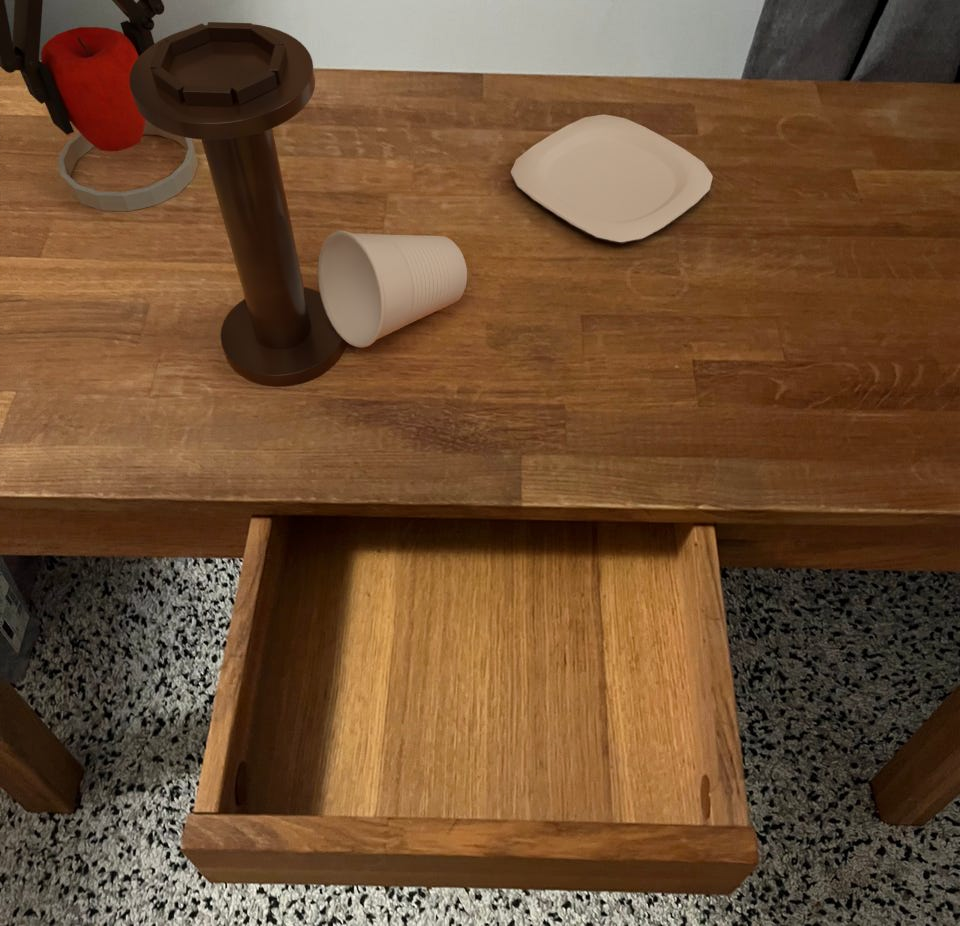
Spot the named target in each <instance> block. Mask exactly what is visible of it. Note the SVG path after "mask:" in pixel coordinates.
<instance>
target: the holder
mask: <svg viewBox="0 0 960 926" xmlns="http://www.w3.org/2000/svg"><path fill="white" fill-rule="evenodd" d="M154 43H155V44H153V45H152V46H151V47H149V48H148V49H147V50H145V51H144V52H143V53H142V54H141V55H140V56H139V58H138V59H137V60H136V61H135V63H134V65H133V67H132V69H131V72H130V76H129V85H130V90H131V93H132V96H133V99H134V102H135V104H136V107H137V109H138V111H139V112H140V114H141V115H142V116H143V117H144V118H145V119H146V120H147V121H148V122H149V123H151V124H152V125H154V126H155V127H157V128H159V129H161V130H163V131H165V132H168V133H171V134H174V135H177V136H181V137H186V138H191V140H192V139H193V140H201V144H202V147H203V151H204V154H205V159H206V161H207V166H208V169H209V173H210V176H211V180H212V183H213V187H214V191H215V194H216V198H217V202H218V205H219V209H220V213H221V216H222V219H223V223H224V227H225V230H226V231H225V232H226V234H227V238H228V241H229V245H230V249H231V253H232V256H233V260H234V263H235V267H236V270H237V274H238V278H239V282H240V286H241V289H242V292H243V295H244V299H242V300H240V301H239V302H238V303H237V304H235V306H233V308H231V310H230V311H229V312H228V313H227V315H226V316H225V318H224V320H223V323H222V325H221V330H220V343H221V346H222V350H223V353H224V356H225V358H226V362H227V363H228V365H229V366H230V367H231V368H232V370H234V372H235V373H236V374H238V375H239V376H241V377H242V378H244V379H245V380H248V381H250V382H252V383H255V384H258V385H260V386H261V385H262V386H266V387H267V386H268V387H289V386H290V387H291V386H296V385H301V384H303V383H307V382H310V381H312V380H314V379H316V378H319V377H320V376H322V375H324V374H325V373H326V372H327V371H329V370H330V369H332V367H333V366H334V365H335V364H336V363H337V362H338V361H339V360H340V358H341V356H342V355H343V353H344V351H345V349H346V344H347V342H346V341H345V340H344V339H343V338H342V337H341V336H340V335H339V334H338V333H337V332H336V330H335V329H334V327H333V326H332V324H331V322H330V320H329V318H328V316H327V314H326V311H325V309H324V306H323V303H322V299H321V296H320V291H319V290H315V289H312V288H309V287H305V285H304V282H303V276H302V272H301V266H300V261H299V257H298V251H297V246H296V242H295V237H294V236H295V235H294V231H293V226H292V220H291V216H290V209H289V207H288V201H287V196H286V190H285V185H284V180H283V175H282V170H281V166H280V161H279V160H280V159H279V155H278V150H277V145H276V140H275V135H274V128H277V127H279V126H281V125H283V124H284V123H287V122H288V121H290V120H292V118H294V117H295V116H297V115H298V114H299V113H300V112H301V111H302V110H303V109H304V108H305V107H306V106H307V105H308V104H309V102H310V100H311V98H312V97H313V95H314V91H315V88H316V76H315V68H314V62H313V58H312V55H311V53H310V51H309V50H308V49H307V47H305V45H304V44H303V43H302V42H301V41H299V40H298V39H297V38H296V37H294V36H292V35H291V34H289V33H287V32H284V31H282V30H279V29H277V28H273V27H270V26H266V25H262V24H257V23H255V24H254V23H251V22H228V21H227V22H224V21H222V22H220V21H208V22H207V24H204V23H199V24H197V25H194V26H192V27H190V28H187V29H183V30H181V31H178V32H175V33H173V34H170V35H168V36H166V37H164V38H162V39H160V40H158V41H157V42H154Z"/></svg>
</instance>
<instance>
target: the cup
mask: <svg viewBox="0 0 960 926" xmlns="http://www.w3.org/2000/svg"><path fill="white" fill-rule="evenodd" d="M318 255H319V256H318V260H317V282H318V285H317V286H318V289H319V290H318V291H319V292H320V296H321V299H322V303H323V306H324V309H325V311H326V314H327V316H328V318H329V320H330V322H331V324H332V326H333V327H334V329H335V330H336V332H337V333H338V334H339V335H340V336H341V337H342V338H343V339H344V340H345V341H346V344H349V345H351V346H353V347H355V348H362V349H363V348H366V347H367V348H368V347H370V346H371V345H372V344H374V343H375V342H376V341H377V340H379V339H381V338H383V337H386V336H387V335H389V334H392V333H393V332H396V331H398V330H400V329H402V328H404V327H406V326H408V325H410V324H412V323H414V322H417V321H418V320H421V319H422V318H425V317H427V316H429V315H431V314H433V313H435V312H438V311H440V310H442V309H444V308H447V307H449V306H451V305H453V304H455V303H457V302H459V300H460V299H461V298H462V297H463V295H464V293H465V291H466V287H467V283H468V269H467V268H468V267H467V263H466V260H465V257H464V255H463V252H462V251H461V248H460V247H458V245H457V244H456V243H455V242H454V241H453V240H452V239H451V238H450V237H449V238H448V237H447V236H444V235H425V234H424V235H419V234H418V235H416V234H415V235H414V234H413V235H412V234H384V233H383V234H381V233H357V232H356V233H353V232H350V231H346V230H336V231H334V232H331V233H330V234H329V235H328V236H327V237H326V238H325V239H324V241H323V243H322V244H321V248H320V250H319V254H318Z"/></svg>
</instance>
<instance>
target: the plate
mask: <svg viewBox="0 0 960 926" xmlns="http://www.w3.org/2000/svg"><path fill="white" fill-rule="evenodd" d="M510 176H511V177H512V180H513V181H514V184H515V185H516V187H517V189H519V190H520V191H521V192H522V193H524V194H525V195H526V196H527V197H528V198H530V200H532V201H533V202H535V203H536V204H537V205H538V206H540V207H542V208H544V209H545V210H547V211H548V212H550V213H551V214H552V215H554V216H556V217H558V219H561V220H562V221H564V222H566V223H567V224H569V225H570V226H571V227H573V228H575V229H577V230H579V231H581V232H583V233H585V234H587V235H589V236H591V237H593V238H595V239H597V240H601V241H605V242H611V243H615V244H621V245H622V244H626V243H632V242H637V241H643V240H645V239H646V238H648V237H650V236H653V235H654V234H656V233H657V232H659V231H661V230H663V229H665V228H666V227H667V226H669V225H670V224H671V223H673V222H675V221H676V220H677V219H678V218H680V217H681V216H682V215H683V214H685V213H687V212H688V211H689V210H691V209H692V208H694V206H696V205H697V204H698V203H699V202H700V201H701V200H702V199H703V198H704V197H705V196H706V195H707V194H708V193H709V192H710V190H711V186H712V182H713V177H714V176H713V174H712V172H711V171H710V169H709V168H708V166H707V165H706V163H704V162H703V161H702V160H701V159H699V158H698V157H696V156H695V155H694V154H692V153H691V152H690V151H689V150H686V148H683V147H682V146H680V145H679V144H676V143H675V142H673V141H671V140H670V139H668V138H666V137H665V136H662V135H660V134H658V133H657V132H656V131H653V130H652V129H649V128H648V127H645V126H643V125H641V124H639V123H637V122H635V121H632V120H630V119H627V118H626V117H620V116H615V115H609V114H597V115H591V116H585V117H583V118H580V119H578V120H576V121H574V122H572V123H569V124H567V125H565V126H563V127H562V128H560V129H558V130H556V131H555V132H553V133H552V134H550V135H548V136H546V137H545V138H544V139H542V140H541V141H540V140H539V142H537V143H535V144H534V145H533V146H531V147H529V148H528V149H527V150H526V151H525V152H523V153H522V154H521V155H519V157H517V158H516V159H515V161H514V164H513V166H512V168H511V170H510Z"/></svg>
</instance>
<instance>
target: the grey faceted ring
mask: <svg viewBox="0 0 960 926" xmlns="http://www.w3.org/2000/svg"><path fill="white" fill-rule="evenodd" d="M143 135H149V136H150V135H151V136H152V135H153V136H154V135H155V136H156V135H157V136H160V137H163V138H167V139H169V140H172V141H176V142H177V143H178V144H180V145H181V146H182V147H183V148H185V150H187V151H186V154H185V157H184V160H183V162H182V163H181V164H180V165H179V166H178V167H177V168H176V169H175V170H174V171H173V172H172V173H171V174H170V175H169V176H167V177H165V178H163V179H160V180H159V181H157V182H155V183H153V184H150V185H148V186H144V187H140V188H135V189H130V190H126V191H110V190H109V191H107V190H103V191H102V190H96V189H93V188H90V187H88V186H84V185H81V184H78V182H76V181H75V180H74V179H73V178H72V177H71V175H72V173H73V171H74V168H75V167H76V164H77V162H78V161H79V160H80V159H81V158H82V157H83V156H85V154H86V153H88V152H89V151H90V150H91V149H93V148H96V147H95V146H94V145H92V144H91V143H90V142H89V141H87V140H86V139H85V138H84V137H83V135H82V134H81V133H80V132H79V131H78V132H77V134H75V135H74V136H73V137H72V138H71V139H69V140H68V141H67V142H65V143H64V145H63V148H62V149H61V152H60V154H59V155H58V158H57V164H58V170H59V175H60V177H61V180H62V182H63V184H64V186H65V189H66V191H67V192H68V193H69V194H70V195H71V196H72V197H73V198H74V199H75V200H76V201H78V202H79V203H80V204H81V205H83V206H87V207H90V208H93V209H97V210H99V211H102V212H133V211H137V210H141V209H147V208H150V207H151V208H152V207H154V206H158V205H160V204H161V203H163V202H165V201H168V200H169V199H171V198H174V197H175V196H177V195H179V194H180V193H181V192H183V190H184V189H185V188H186V187H187V186H189V184H190V183H191V182H192V181H193V180H194V179H195V175H196V173H197V169H198V167H199V160H198V156H197V153H196V149H195V146H194V143H193V140H192V138H186V137H181V136H177V135H174V134H171V133H168V132H165V131H163V130H161V129H159V128H157V127H155V126H154V125H152V124H151V123H149V122H148V121H147V120H146V119H145V128H144V133H143Z"/></svg>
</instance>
